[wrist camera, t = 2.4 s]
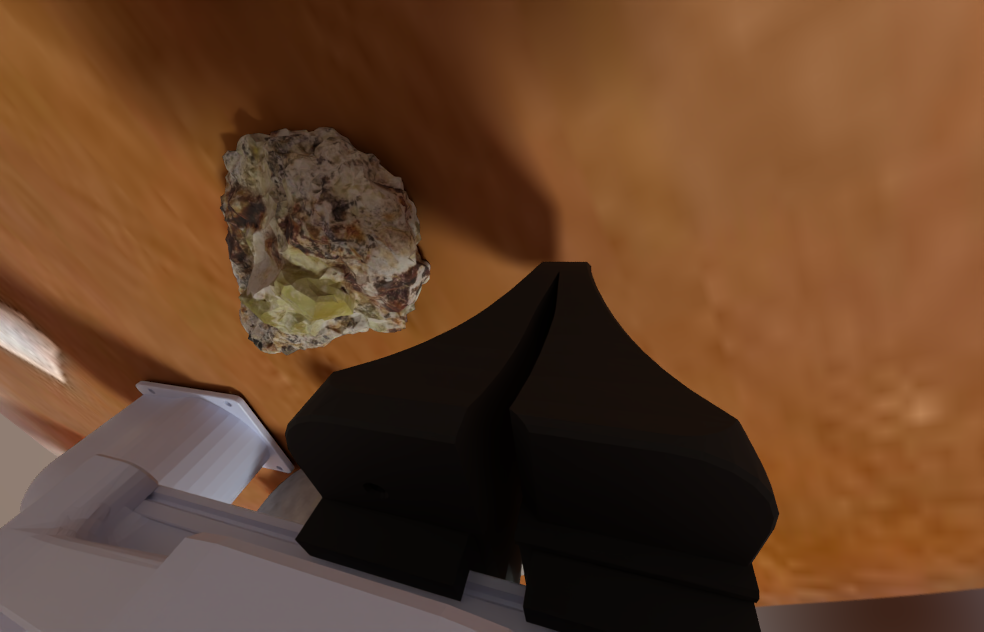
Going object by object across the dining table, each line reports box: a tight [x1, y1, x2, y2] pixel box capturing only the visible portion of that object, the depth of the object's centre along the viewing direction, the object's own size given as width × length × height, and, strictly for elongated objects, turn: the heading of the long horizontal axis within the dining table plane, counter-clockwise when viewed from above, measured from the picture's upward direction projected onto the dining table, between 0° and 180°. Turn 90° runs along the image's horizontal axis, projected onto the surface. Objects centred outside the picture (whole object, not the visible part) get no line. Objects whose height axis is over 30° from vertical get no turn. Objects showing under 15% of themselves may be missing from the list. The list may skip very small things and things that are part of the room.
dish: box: [257, 469, 322, 525], centre depth 27 cm, size 14×14×5 cm
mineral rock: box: [220, 127, 430, 355], centre depth 13 cm, size 11×4×8 cm
